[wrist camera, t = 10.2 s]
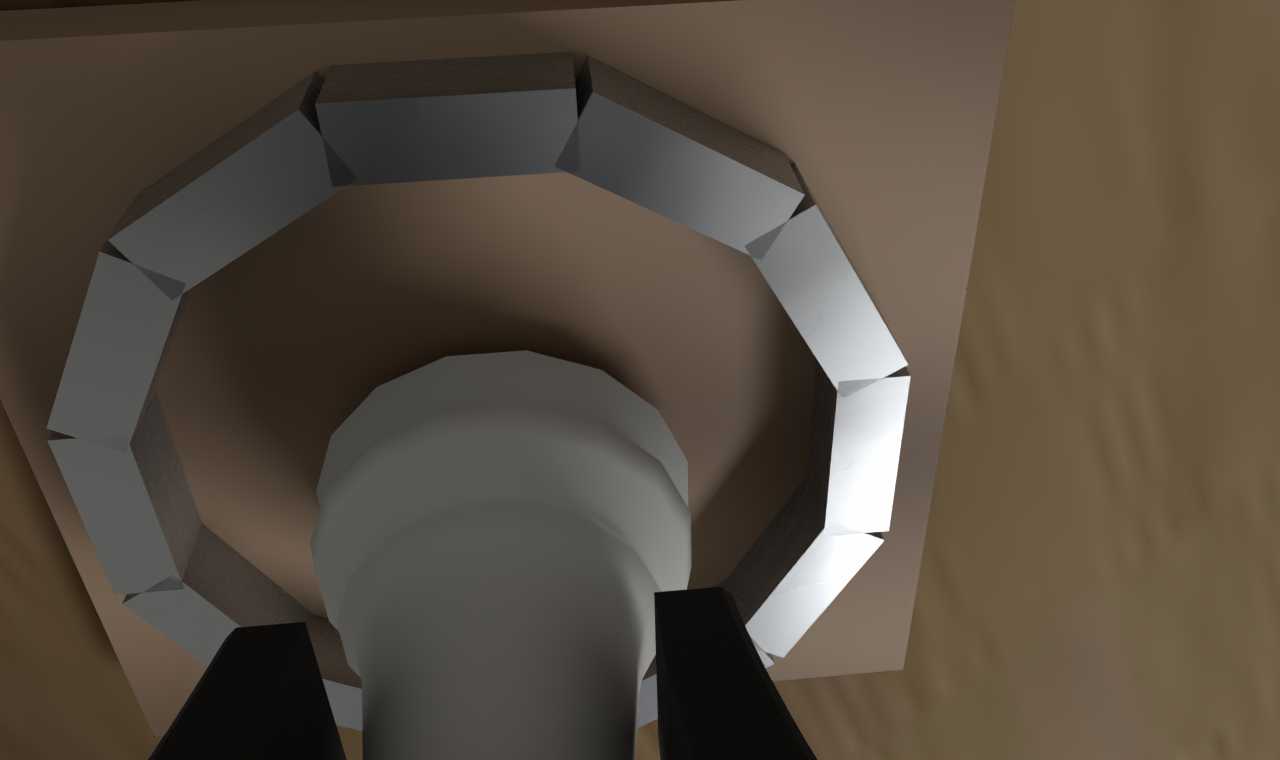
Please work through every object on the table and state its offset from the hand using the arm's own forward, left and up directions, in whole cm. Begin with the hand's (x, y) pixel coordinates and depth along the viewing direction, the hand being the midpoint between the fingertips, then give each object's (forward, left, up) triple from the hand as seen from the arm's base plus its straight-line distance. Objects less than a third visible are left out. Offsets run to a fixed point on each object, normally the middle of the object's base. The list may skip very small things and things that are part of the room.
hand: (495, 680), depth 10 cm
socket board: (0, 0, -5) cm, 5 cm away
